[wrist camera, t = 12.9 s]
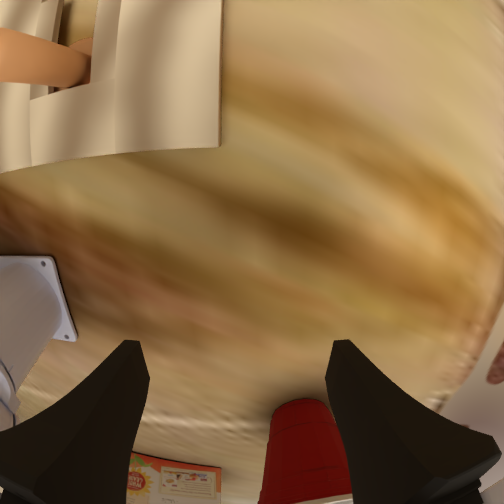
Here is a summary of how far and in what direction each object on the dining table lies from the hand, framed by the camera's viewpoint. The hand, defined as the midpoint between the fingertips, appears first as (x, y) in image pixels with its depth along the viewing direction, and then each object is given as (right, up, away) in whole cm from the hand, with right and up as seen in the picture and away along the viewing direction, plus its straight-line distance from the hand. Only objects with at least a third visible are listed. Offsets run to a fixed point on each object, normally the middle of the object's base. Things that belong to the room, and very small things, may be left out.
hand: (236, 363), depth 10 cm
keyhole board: (-10, +20, +2) cm, 23 cm away
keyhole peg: (-10, +16, +4) cm, 19 cm away
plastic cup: (+5, -13, +17) cm, 21 cm away
